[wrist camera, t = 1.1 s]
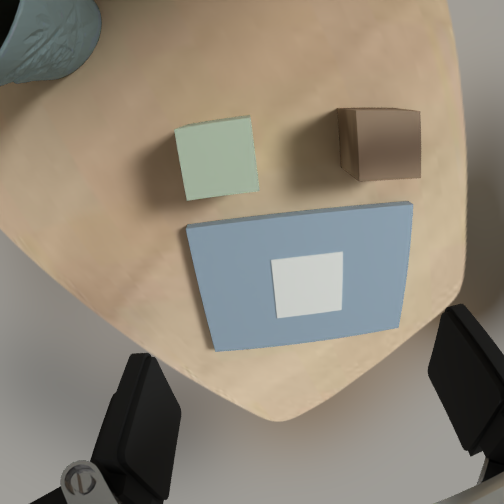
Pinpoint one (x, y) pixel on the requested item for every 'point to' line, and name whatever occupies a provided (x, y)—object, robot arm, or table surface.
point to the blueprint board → (302, 274)
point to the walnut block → (380, 143)
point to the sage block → (217, 157)
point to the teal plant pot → (46, 38)
